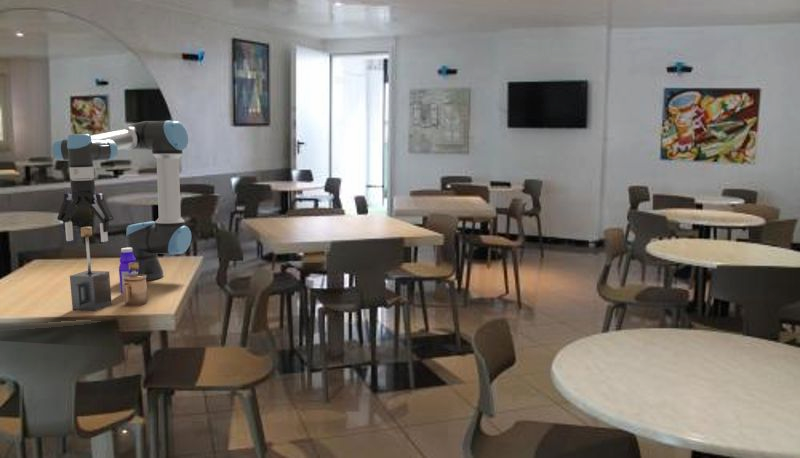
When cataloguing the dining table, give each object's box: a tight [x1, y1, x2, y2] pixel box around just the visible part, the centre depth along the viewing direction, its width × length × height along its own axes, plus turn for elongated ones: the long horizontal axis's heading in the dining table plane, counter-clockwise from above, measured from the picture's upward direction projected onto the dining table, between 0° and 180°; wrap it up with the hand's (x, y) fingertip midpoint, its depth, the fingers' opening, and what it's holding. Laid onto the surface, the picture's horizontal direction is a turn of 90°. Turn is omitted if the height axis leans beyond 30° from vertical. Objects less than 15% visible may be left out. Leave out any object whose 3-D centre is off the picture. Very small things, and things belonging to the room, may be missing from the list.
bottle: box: [118, 247, 138, 295], centre depth 266 cm, size 7×6×17 cm
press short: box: [122, 262, 148, 307], centre depth 250 cm, size 11×8×15 cm
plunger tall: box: [80, 226, 93, 274], centre depth 244 cm, size 7×7×19 cm
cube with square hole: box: [69, 270, 113, 312], centre depth 244 cm, size 12×9×12 cm
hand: (87, 241), depth 243 cm, fingers open, 13 cm apart
